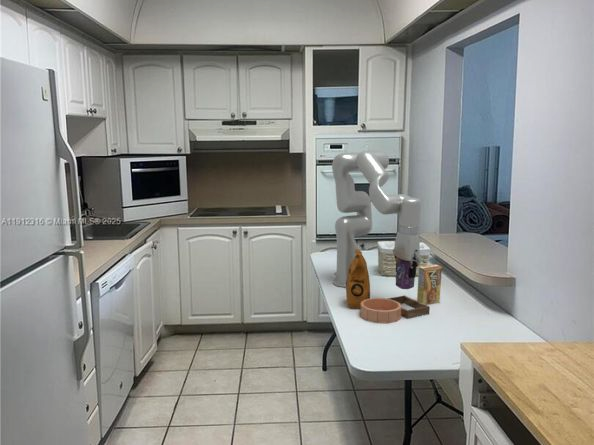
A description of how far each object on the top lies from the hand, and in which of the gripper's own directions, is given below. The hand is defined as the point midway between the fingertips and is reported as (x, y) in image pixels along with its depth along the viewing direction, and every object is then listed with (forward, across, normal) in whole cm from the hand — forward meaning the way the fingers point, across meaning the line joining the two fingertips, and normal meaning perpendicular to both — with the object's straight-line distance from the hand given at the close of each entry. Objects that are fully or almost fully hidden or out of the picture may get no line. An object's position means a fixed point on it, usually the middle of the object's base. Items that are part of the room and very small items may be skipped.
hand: (405, 274), depth 194 cm
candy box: (+15, -2, +15) cm, 21 cm away
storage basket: (+17, -41, +33) cm, 55 cm away
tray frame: (+14, +2, 0) cm, 15 cm away
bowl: (+14, +2, -12) cm, 19 cm away
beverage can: (+6, 0, 0) cm, 6 cm away
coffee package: (+15, -13, -13) cm, 24 cm away
